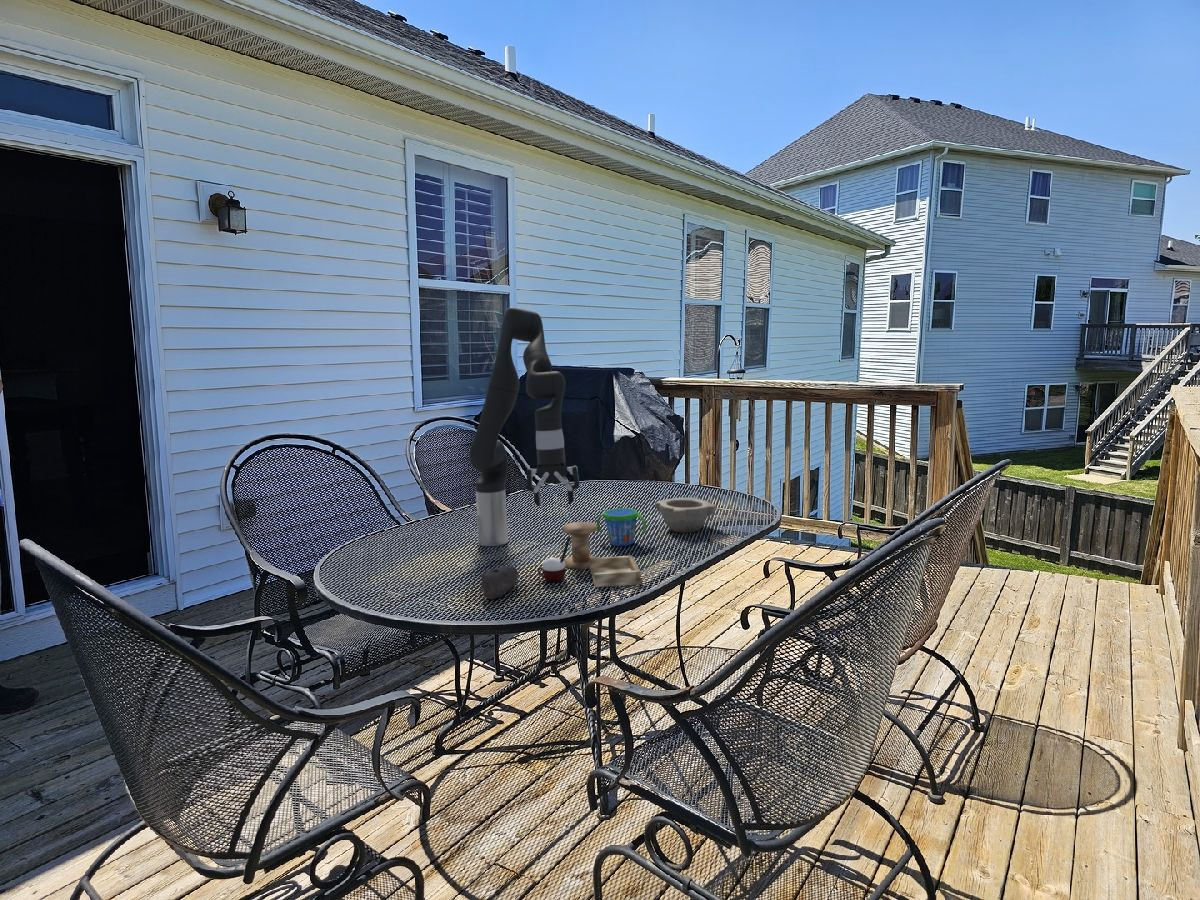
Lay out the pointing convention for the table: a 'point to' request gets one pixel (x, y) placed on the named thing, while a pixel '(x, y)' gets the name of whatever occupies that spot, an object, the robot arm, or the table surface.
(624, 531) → the snack cup
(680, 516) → the mortar
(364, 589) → the table surface
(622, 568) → the shallow rimmed tray
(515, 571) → the perforated stone tool
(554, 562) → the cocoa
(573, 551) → the tan spool shaped stand
